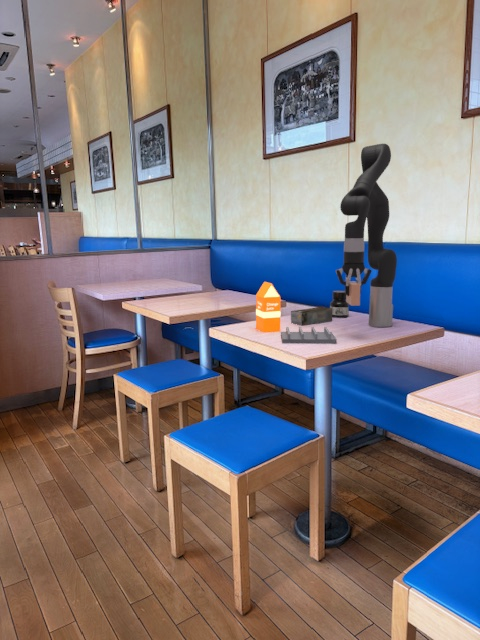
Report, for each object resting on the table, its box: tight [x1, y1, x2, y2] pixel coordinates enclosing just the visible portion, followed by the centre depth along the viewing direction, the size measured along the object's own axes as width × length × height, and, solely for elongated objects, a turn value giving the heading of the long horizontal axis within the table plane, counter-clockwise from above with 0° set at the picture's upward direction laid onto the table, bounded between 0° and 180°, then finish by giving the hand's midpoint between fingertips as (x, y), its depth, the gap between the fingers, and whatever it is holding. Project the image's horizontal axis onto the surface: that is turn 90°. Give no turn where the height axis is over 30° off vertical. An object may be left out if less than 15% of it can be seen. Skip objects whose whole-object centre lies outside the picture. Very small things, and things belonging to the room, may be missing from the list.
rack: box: [280, 326, 338, 344], centre depth 185 cm, size 20×13×4 cm, turn 88°
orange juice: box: [255, 281, 282, 334], centre depth 200 cm, size 8×9×20 cm
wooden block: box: [346, 280, 361, 307], centre depth 184 cm, size 3×10×8 cm, turn 178°
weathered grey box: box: [290, 306, 333, 327], centre depth 218 cm, size 8×19×7 cm, turn 124°
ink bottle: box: [329, 290, 350, 318], centre depth 231 cm, size 10×9×12 cm
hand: (352, 295), depth 185 cm, fingers closed on wooden block, 3 cm apart
